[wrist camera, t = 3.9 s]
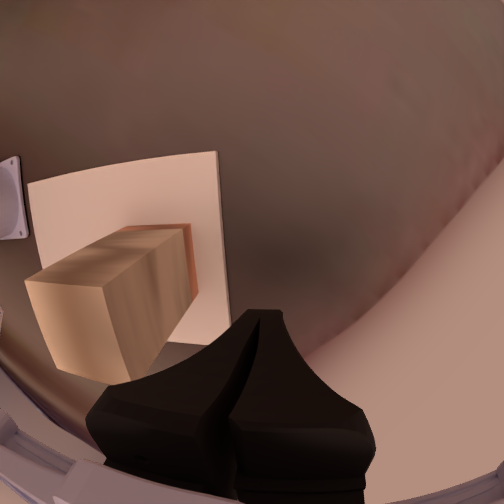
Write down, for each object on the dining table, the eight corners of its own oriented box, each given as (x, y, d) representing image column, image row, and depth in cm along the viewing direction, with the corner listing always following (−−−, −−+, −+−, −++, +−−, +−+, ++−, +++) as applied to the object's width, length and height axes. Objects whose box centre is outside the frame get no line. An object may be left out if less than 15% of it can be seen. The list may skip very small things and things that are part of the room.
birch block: (137, 290, 21) (57, 368, 12) (126, 226, 20) (24, 280, 10) (198, 293, 20) (134, 390, 11) (190, 223, 19) (102, 287, 9)
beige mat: (62, 321, 25) (59, 323, 24) (32, 183, 20) (27, 184, 20) (233, 342, 22) (231, 346, 21) (217, 151, 18) (215, 151, 17)
